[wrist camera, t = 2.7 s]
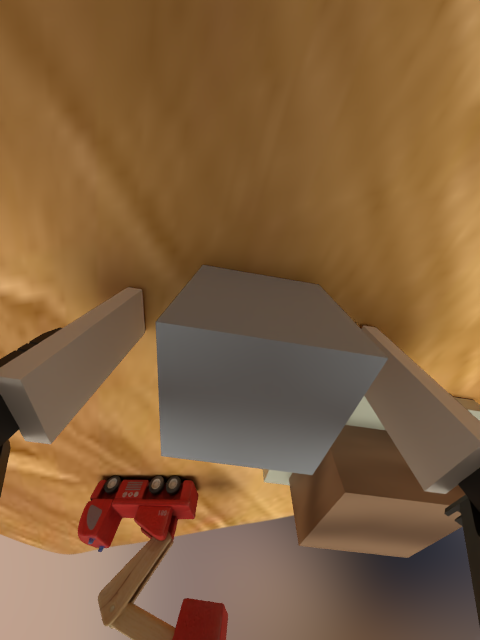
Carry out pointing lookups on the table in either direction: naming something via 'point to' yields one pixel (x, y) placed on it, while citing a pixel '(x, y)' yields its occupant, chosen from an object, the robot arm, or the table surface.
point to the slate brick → (258, 371)
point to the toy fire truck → (146, 556)
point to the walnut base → (368, 500)
